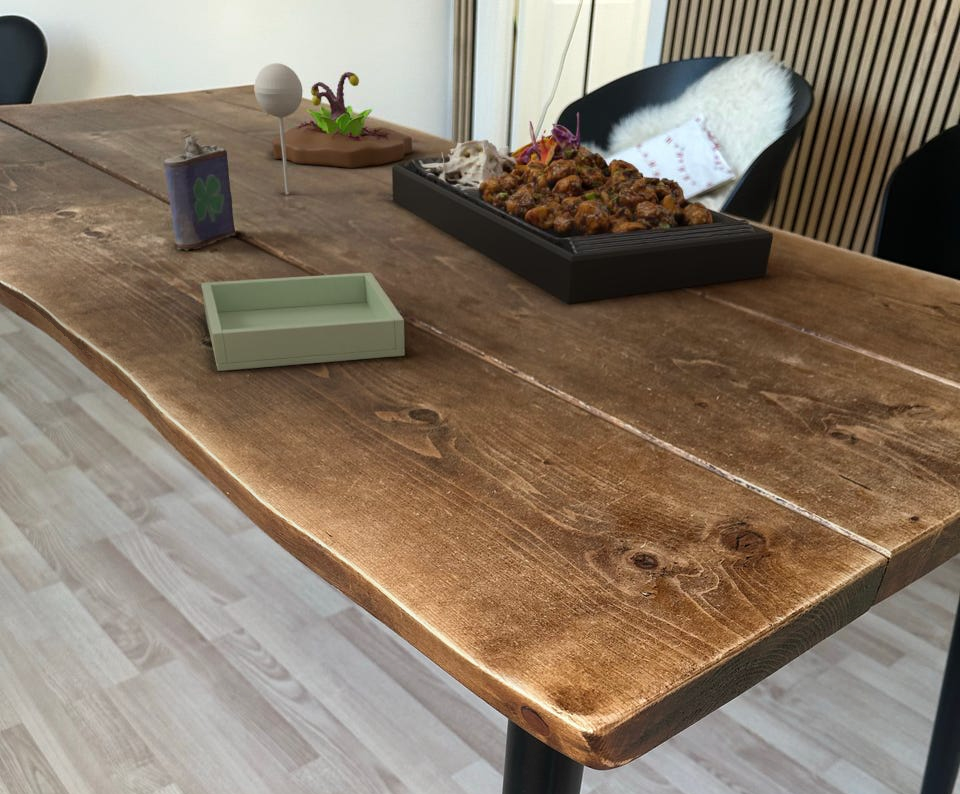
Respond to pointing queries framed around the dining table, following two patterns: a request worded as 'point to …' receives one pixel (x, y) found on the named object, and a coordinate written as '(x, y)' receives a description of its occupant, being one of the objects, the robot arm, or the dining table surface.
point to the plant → (340, 135)
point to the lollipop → (279, 97)
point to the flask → (199, 195)
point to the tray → (301, 321)
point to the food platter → (578, 219)
